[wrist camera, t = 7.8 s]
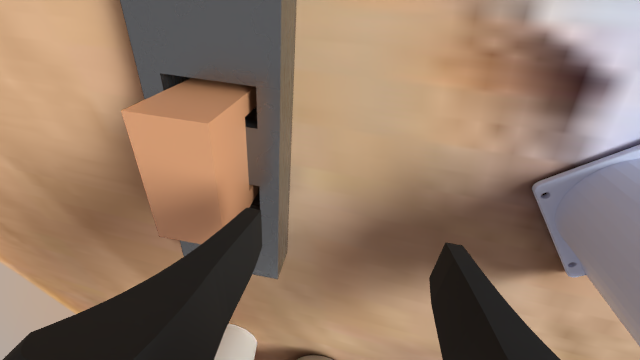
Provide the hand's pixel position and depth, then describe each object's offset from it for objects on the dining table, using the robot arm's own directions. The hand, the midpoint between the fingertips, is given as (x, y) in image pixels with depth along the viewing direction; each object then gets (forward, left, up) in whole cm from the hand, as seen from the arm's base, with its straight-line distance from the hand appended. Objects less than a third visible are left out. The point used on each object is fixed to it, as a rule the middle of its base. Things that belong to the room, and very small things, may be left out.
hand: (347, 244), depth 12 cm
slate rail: (+5, +7, -9) cm, 13 cm away
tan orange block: (+5, +7, -9) cm, 13 cm away
